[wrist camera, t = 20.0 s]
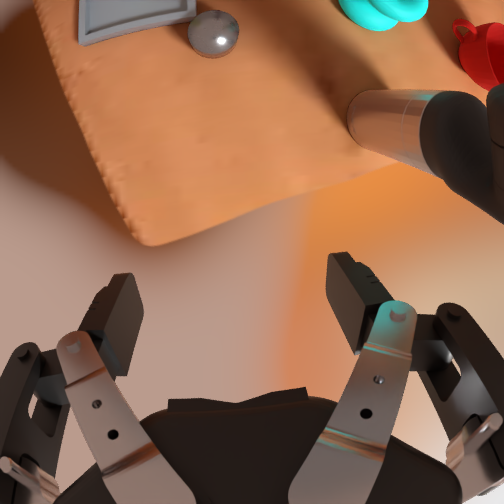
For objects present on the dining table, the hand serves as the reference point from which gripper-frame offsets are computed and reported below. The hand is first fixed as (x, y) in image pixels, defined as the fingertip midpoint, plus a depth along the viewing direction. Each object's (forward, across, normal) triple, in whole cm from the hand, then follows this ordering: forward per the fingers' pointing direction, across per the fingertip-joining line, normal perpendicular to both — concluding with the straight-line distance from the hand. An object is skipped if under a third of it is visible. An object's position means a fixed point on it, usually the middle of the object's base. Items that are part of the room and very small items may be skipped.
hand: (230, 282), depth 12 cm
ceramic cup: (+31, -42, -20) cm, 55 cm away
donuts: (+30, -22, -24) cm, 44 cm away
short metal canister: (+30, 0, -17) cm, 35 cm away
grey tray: (+30, +10, -28) cm, 42 cm away
